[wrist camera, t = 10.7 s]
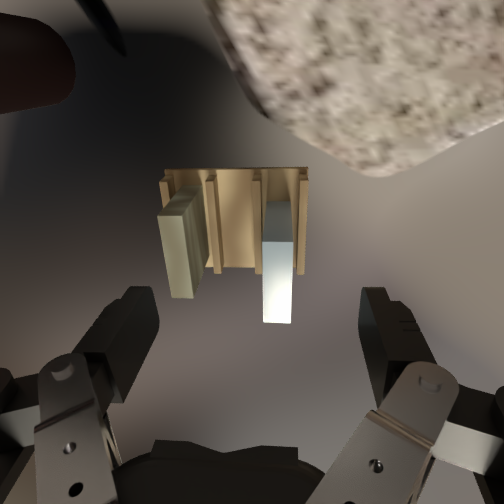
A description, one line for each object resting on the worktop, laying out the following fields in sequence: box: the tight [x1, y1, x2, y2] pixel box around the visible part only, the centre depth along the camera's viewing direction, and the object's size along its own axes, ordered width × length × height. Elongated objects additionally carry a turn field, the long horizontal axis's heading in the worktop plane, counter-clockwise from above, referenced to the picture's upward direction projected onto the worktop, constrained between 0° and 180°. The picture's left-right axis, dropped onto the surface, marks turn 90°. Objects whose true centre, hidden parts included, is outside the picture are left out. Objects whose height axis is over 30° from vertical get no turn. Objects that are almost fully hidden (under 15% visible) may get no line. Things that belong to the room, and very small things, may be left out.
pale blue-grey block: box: [262, 201, 293, 323], centre depth 32 cm, size 2×8×9 cm, turn 2°
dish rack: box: [158, 167, 308, 298], centre depth 33 cm, size 14×11×9 cm
